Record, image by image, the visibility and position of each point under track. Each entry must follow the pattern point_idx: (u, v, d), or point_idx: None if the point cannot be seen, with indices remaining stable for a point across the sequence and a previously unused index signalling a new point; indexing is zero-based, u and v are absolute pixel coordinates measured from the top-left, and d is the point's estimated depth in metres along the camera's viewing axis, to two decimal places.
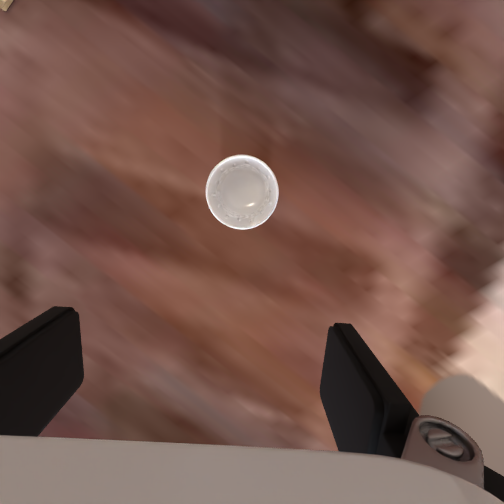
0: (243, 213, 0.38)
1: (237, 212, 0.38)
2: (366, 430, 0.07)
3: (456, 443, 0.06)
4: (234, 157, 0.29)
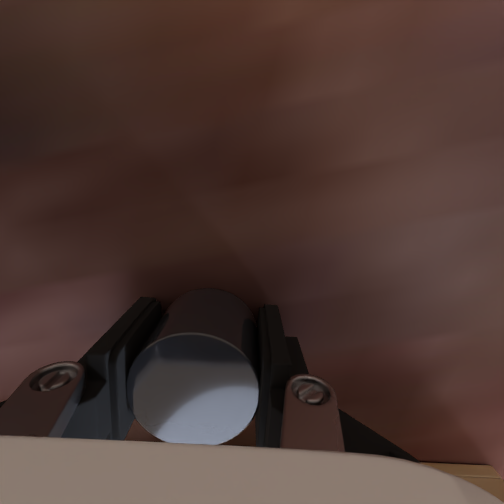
0: None
1: None
2: (262, 389, 0.08)
3: (317, 390, 0.07)
4: None
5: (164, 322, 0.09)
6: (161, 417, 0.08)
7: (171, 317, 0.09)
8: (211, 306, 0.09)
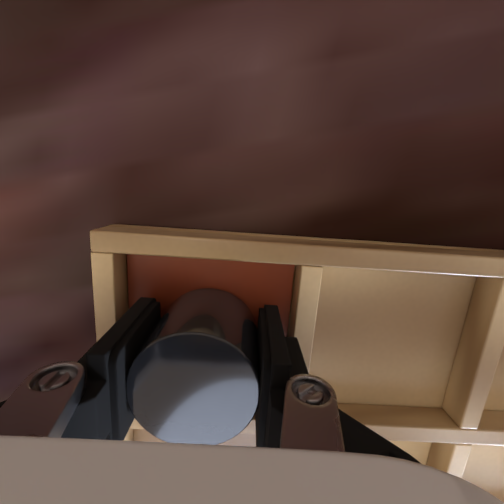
0: None
1: None
2: (261, 389, 0.08)
3: (317, 390, 0.07)
4: None
5: (164, 322, 0.09)
6: (161, 417, 0.08)
7: (170, 317, 0.09)
8: (211, 305, 0.09)
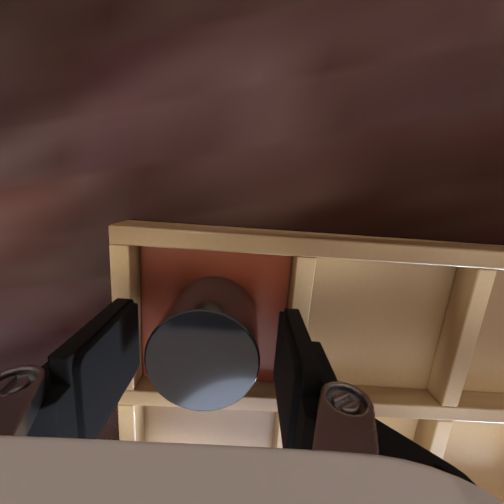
0: None
1: None
2: (291, 396, 0.08)
3: (354, 399, 0.07)
4: None
5: (176, 303, 0.10)
6: (174, 384, 0.10)
7: (182, 299, 0.10)
8: (217, 290, 0.11)
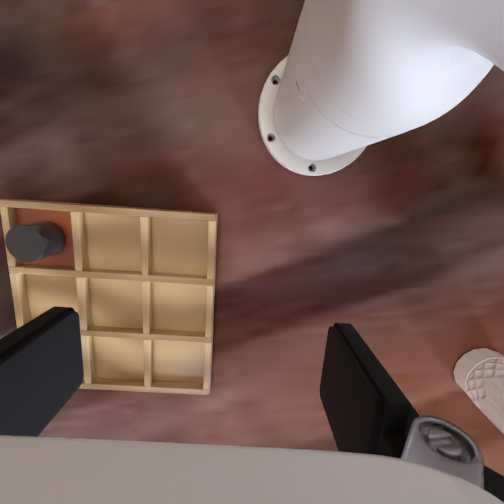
0: None
1: None
2: (366, 430, 0.07)
3: (456, 443, 0.06)
4: None
5: None
6: (16, 251, 0.29)
7: None
8: (38, 222, 0.30)
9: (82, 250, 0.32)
